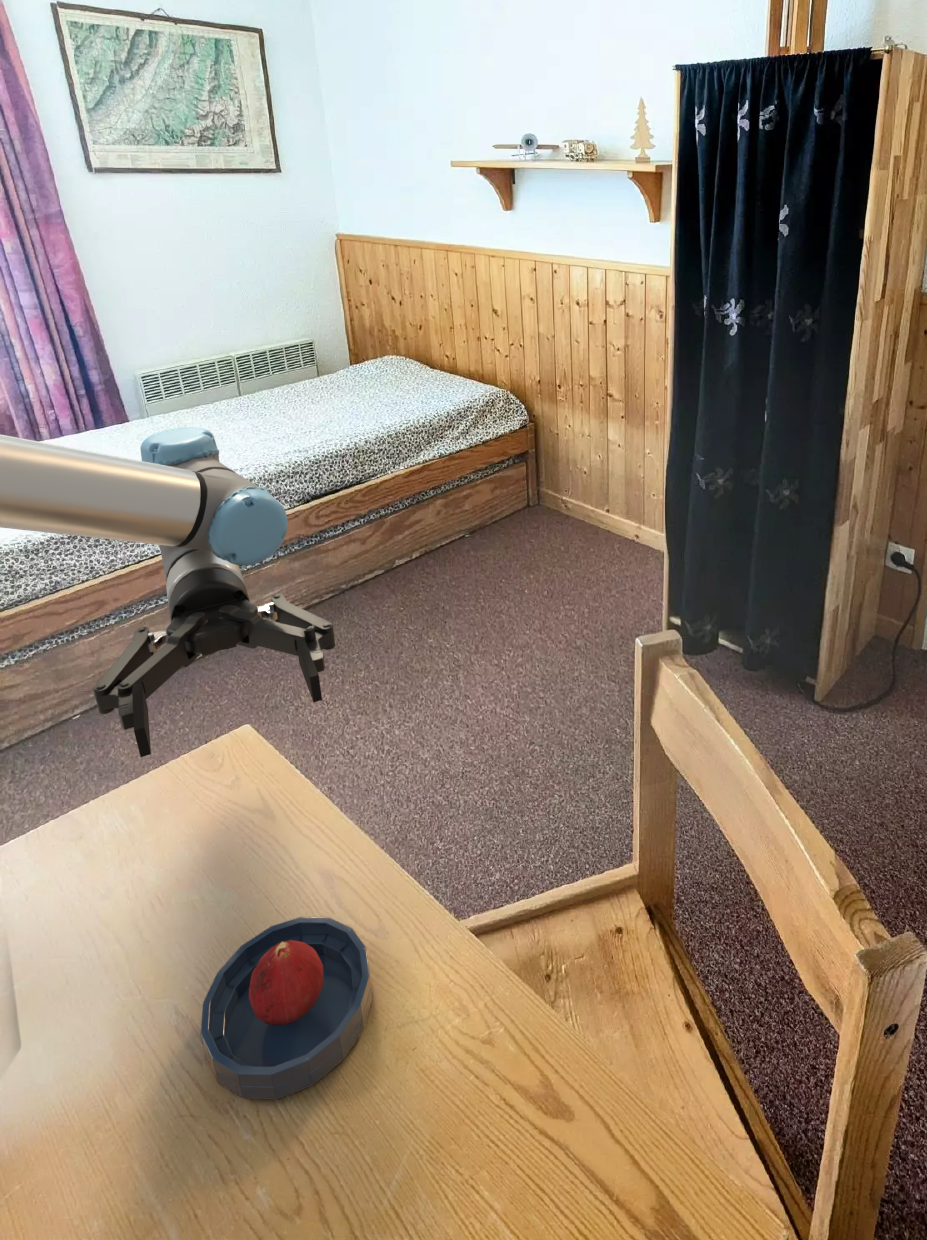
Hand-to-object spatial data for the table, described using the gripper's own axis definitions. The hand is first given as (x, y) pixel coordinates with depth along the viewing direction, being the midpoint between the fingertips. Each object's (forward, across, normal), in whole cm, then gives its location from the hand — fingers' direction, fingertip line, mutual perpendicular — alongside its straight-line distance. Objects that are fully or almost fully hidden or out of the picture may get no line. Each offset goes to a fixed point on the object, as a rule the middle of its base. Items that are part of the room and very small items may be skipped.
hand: (233, 714), depth 67 cm
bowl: (+10, 0, -25) cm, 27 cm away
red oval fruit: (+10, 0, -25) cm, 27 cm away
